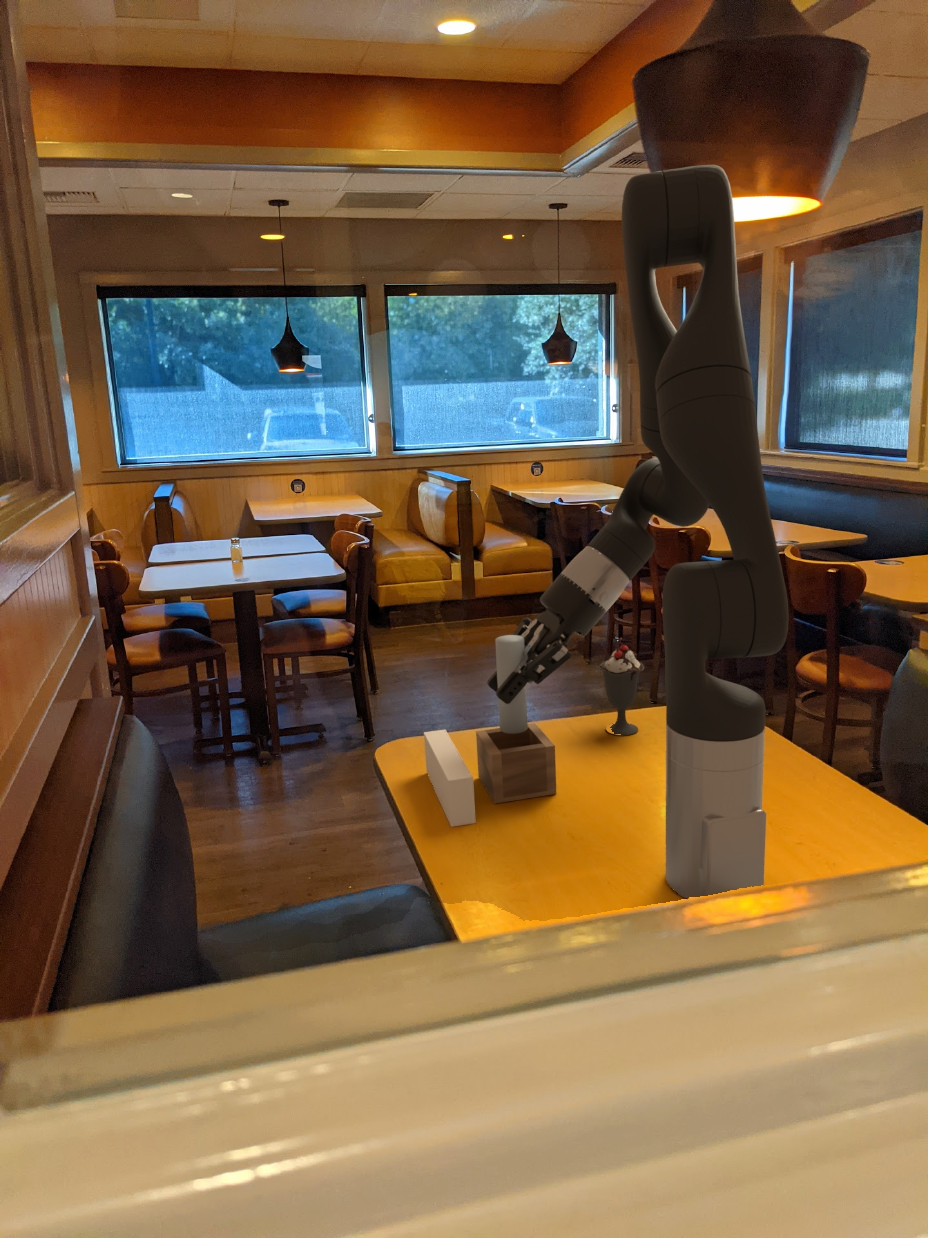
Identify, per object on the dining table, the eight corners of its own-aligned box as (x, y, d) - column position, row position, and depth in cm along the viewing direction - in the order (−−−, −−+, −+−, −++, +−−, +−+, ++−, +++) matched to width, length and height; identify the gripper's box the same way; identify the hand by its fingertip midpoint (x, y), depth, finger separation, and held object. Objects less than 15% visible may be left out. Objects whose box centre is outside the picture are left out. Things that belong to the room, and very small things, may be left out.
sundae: (614, 741, 121) (613, 643, 118) (591, 726, 127) (589, 632, 124) (653, 733, 124) (653, 636, 120) (628, 718, 130) (627, 626, 126)
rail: (475, 823, 100) (473, 777, 98) (451, 827, 99) (448, 780, 98) (447, 769, 115) (445, 729, 114) (426, 773, 114) (423, 732, 113)
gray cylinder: (531, 731, 106) (527, 641, 103) (504, 735, 105) (499, 644, 102) (522, 721, 109) (519, 633, 106) (496, 725, 109) (492, 637, 105)
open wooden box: (556, 793, 106) (554, 745, 104) (494, 803, 104) (491, 754, 103) (536, 768, 114) (534, 723, 112) (478, 777, 112) (476, 731, 110)
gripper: (546, 562, 110) (462, 661, 111) (585, 583, 97) (489, 695, 98) (584, 597, 113) (502, 693, 113) (627, 622, 99) (534, 731, 100)
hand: (497, 693), depth 106 cm, fingers closed on gray cylinder, 3 cm apart
